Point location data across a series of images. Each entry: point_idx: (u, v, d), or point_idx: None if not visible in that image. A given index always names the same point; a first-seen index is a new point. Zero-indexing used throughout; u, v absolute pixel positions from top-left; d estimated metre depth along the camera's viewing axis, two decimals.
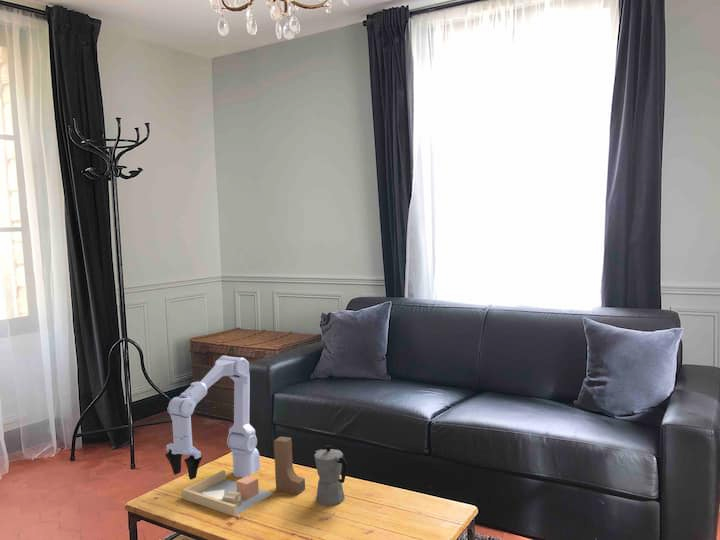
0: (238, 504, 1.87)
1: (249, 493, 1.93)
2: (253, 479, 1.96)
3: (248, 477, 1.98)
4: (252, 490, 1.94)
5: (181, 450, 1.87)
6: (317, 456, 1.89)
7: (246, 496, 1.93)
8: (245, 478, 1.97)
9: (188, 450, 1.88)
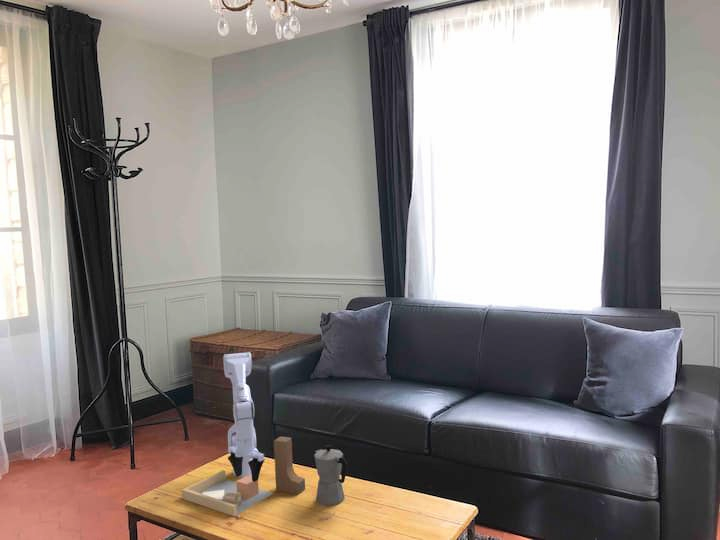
0: (238, 504, 1.87)
1: (249, 493, 1.93)
2: None
3: (248, 477, 1.98)
4: (252, 490, 1.94)
5: (245, 453, 1.92)
6: (317, 456, 1.89)
7: (246, 496, 1.93)
8: (245, 478, 1.97)
9: (251, 453, 1.93)
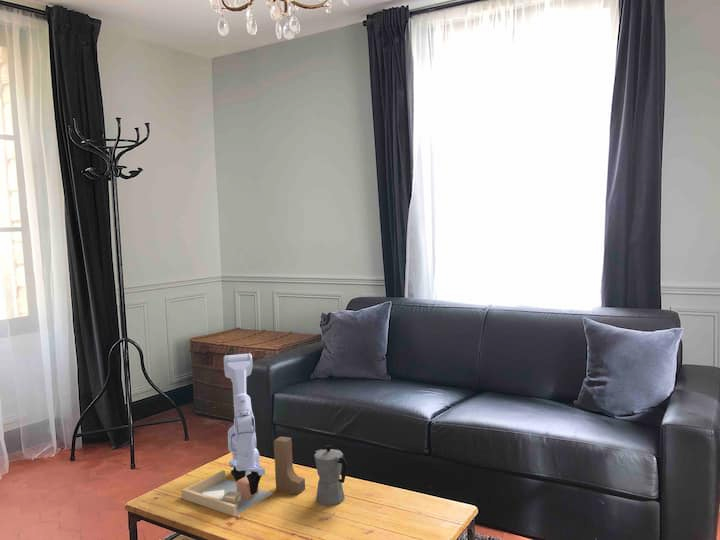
0: (238, 504, 1.87)
1: (249, 493, 1.93)
2: None
3: None
4: None
5: (246, 467, 1.93)
6: (317, 456, 1.89)
7: (246, 496, 1.93)
8: (245, 478, 1.97)
9: (251, 466, 1.93)
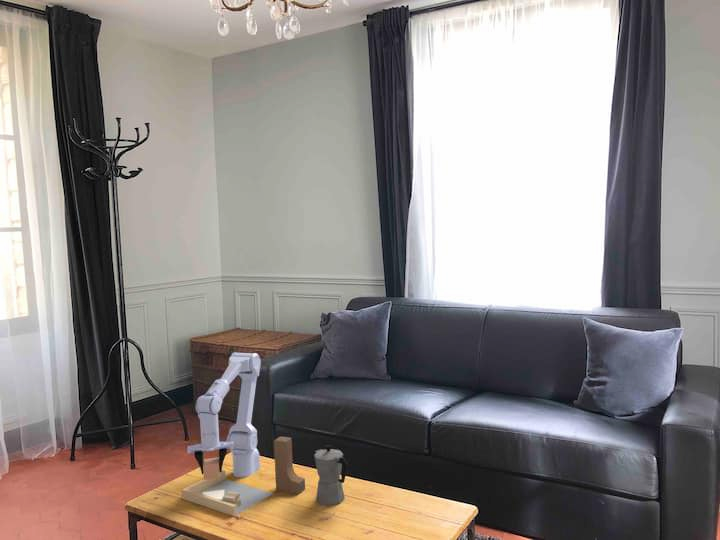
0: (238, 504, 1.87)
1: (219, 471, 1.94)
2: (216, 459, 1.97)
3: (208, 459, 1.96)
4: None
5: (216, 445, 1.93)
6: (317, 456, 1.89)
7: (217, 475, 1.93)
8: (207, 460, 1.95)
9: (219, 444, 1.95)
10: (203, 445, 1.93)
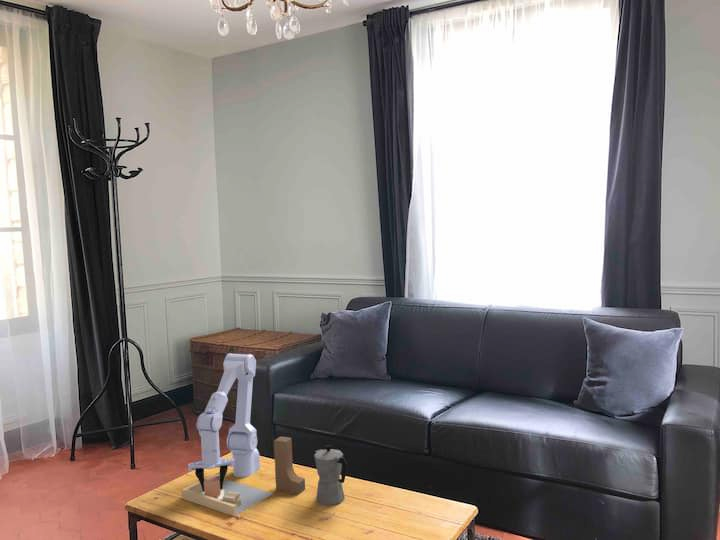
0: (238, 504, 1.87)
1: None
2: (217, 476, 1.97)
3: (209, 476, 1.97)
4: None
5: (216, 463, 1.94)
6: (317, 456, 1.89)
7: (218, 493, 1.94)
8: (208, 478, 1.96)
9: (220, 461, 1.95)
10: (204, 462, 1.93)
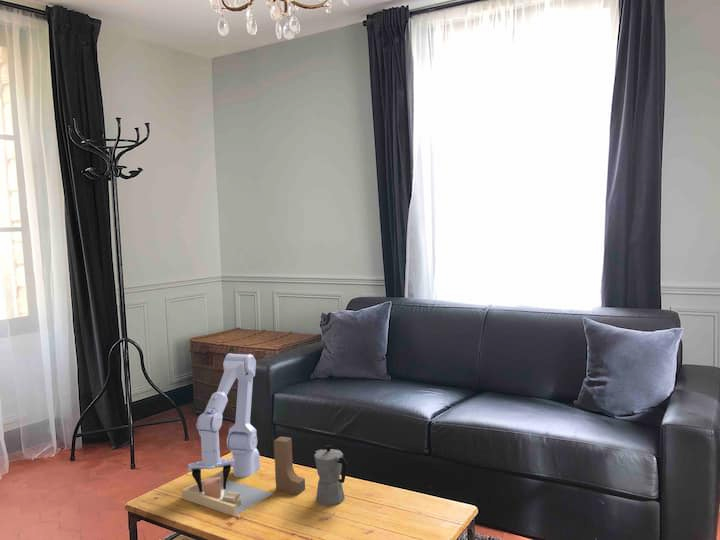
0: (238, 504, 1.87)
1: (220, 491, 1.95)
2: (217, 478, 1.97)
3: (209, 479, 1.97)
4: (220, 489, 1.96)
5: (217, 463, 1.94)
6: (317, 456, 1.89)
7: (218, 495, 1.94)
8: (208, 480, 1.96)
9: (220, 462, 1.95)
10: (204, 463, 1.93)
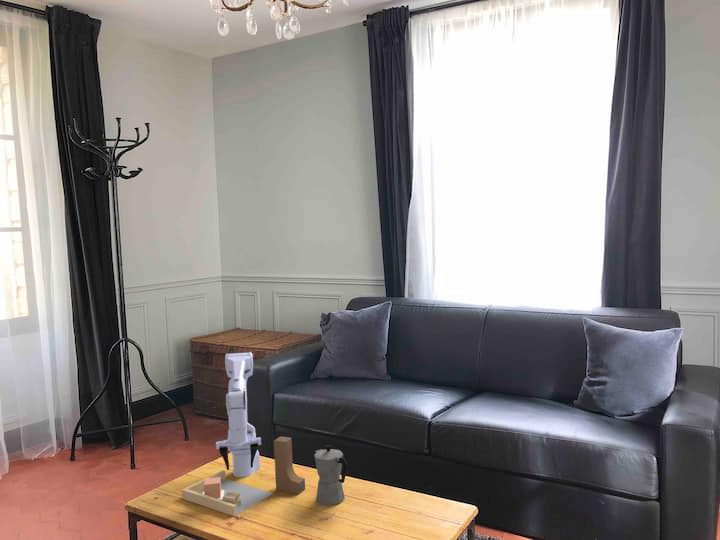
0: (238, 504, 1.87)
1: (220, 491, 1.95)
2: (217, 478, 1.97)
3: (209, 479, 1.97)
4: (220, 489, 1.96)
5: (244, 441, 1.93)
6: (317, 456, 1.89)
7: (218, 495, 1.94)
8: (208, 480, 1.96)
9: (247, 440, 1.95)
10: (231, 441, 1.93)
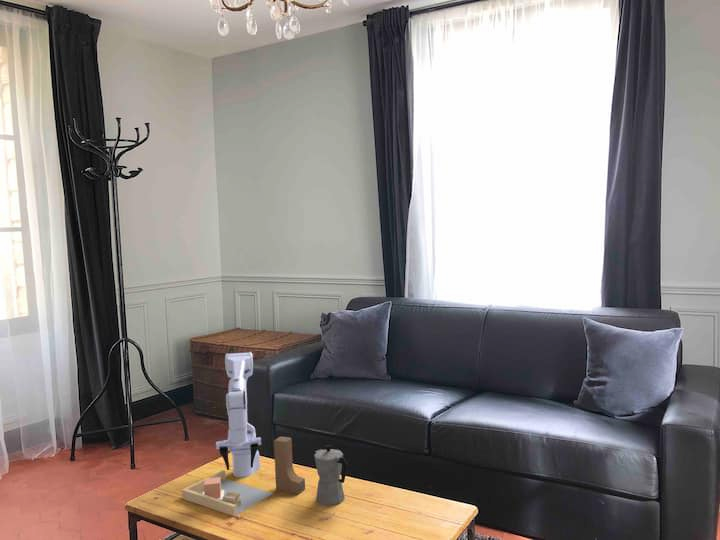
0: (238, 504, 1.87)
1: (220, 491, 1.95)
2: (217, 478, 1.97)
3: (209, 479, 1.97)
4: (220, 489, 1.96)
5: (244, 441, 1.93)
6: (317, 456, 1.89)
7: (218, 495, 1.94)
8: (208, 480, 1.96)
9: (247, 440, 1.95)
10: (231, 441, 1.93)
